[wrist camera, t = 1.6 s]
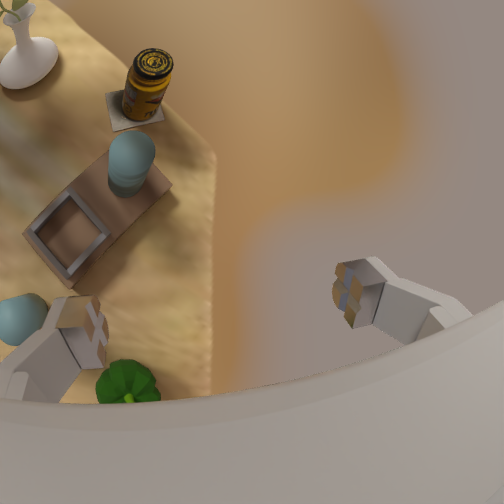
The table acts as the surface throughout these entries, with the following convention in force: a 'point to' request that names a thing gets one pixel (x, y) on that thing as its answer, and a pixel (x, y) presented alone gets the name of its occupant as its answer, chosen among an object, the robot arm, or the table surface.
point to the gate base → (98, 207)
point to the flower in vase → (25, 50)
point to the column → (21, 318)
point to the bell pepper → (126, 384)
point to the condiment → (141, 91)
